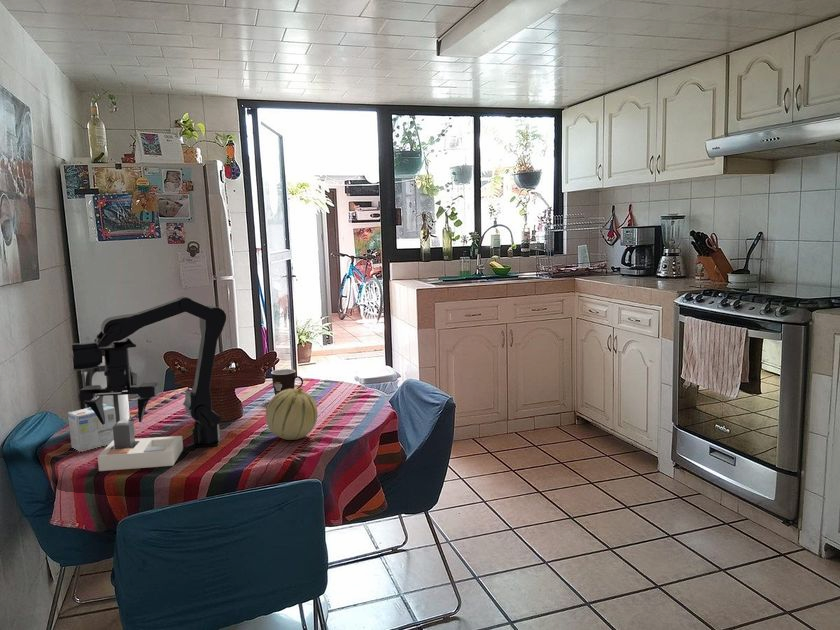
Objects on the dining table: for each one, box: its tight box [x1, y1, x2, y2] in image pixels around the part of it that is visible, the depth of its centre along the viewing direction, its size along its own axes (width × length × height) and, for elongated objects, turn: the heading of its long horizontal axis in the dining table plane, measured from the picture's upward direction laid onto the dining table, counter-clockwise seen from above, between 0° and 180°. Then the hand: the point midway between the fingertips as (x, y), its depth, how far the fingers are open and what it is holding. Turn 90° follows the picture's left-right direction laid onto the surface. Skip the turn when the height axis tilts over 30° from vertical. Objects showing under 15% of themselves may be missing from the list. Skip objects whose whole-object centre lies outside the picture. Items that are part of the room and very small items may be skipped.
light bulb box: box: [67, 404, 116, 452], centre depth 175 cm, size 11×7×11 cm, turn 141°
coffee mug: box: [270, 368, 304, 396], centre depth 219 cm, size 12×9×10 cm
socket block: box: [97, 435, 184, 472], centre depth 163 cm, size 18×12×4 cm, turn 99°
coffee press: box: [80, 334, 134, 423], centre depth 188 cm, size 17×16×30 cm
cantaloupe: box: [265, 387, 319, 441], centre depth 177 cm, size 15×15×15 cm
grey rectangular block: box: [113, 419, 136, 449], centre depth 163 cm, size 4×4×11 cm
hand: (122, 423), depth 162 cm, fingers open, 9 cm apart
